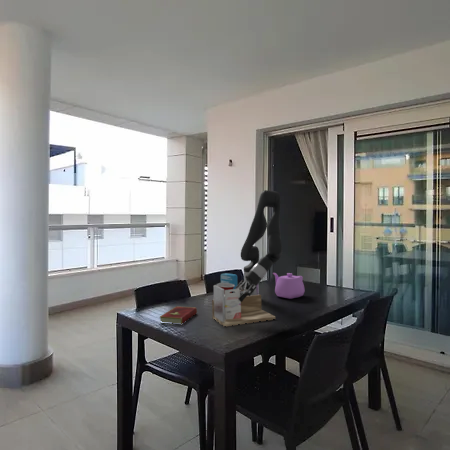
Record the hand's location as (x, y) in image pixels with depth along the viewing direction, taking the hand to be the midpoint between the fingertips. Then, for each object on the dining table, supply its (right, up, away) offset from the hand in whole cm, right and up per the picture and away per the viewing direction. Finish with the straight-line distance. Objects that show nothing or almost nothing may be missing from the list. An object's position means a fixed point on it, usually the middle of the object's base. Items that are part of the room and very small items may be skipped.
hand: (236, 298), depth 183 cm
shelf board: (+4, -11, +1) cm, 11 cm away
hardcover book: (-30, -12, +4) cm, 32 cm away
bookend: (-9, -9, -4) cm, 13 cm away
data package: (-3, -9, +70) cm, 71 cm away
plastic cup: (-5, -10, +33) cm, 35 cm away
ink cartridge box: (-2, -9, -1) cm, 10 cm away
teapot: (+36, -9, +50) cm, 62 cm away
